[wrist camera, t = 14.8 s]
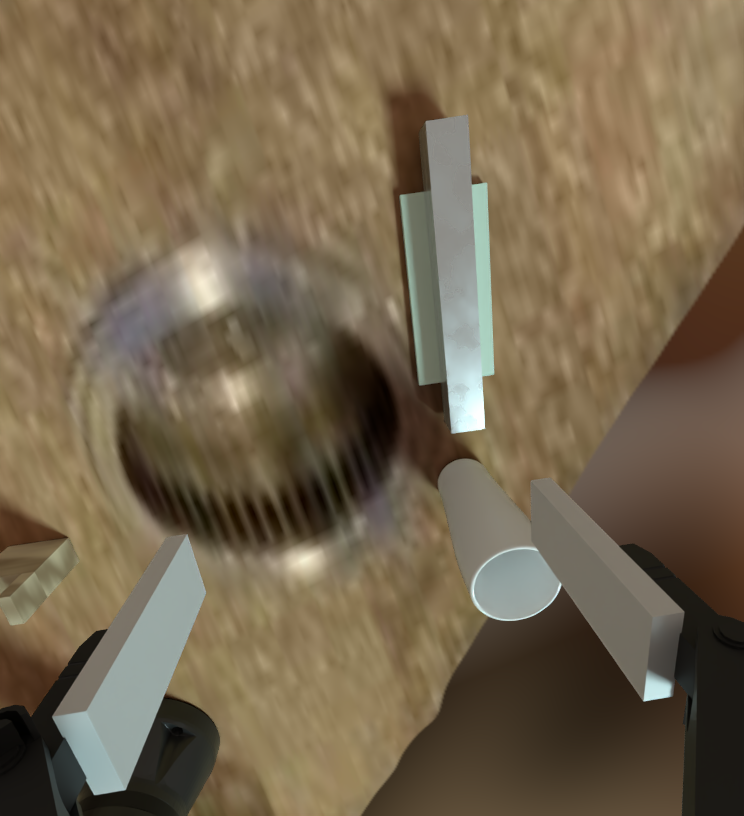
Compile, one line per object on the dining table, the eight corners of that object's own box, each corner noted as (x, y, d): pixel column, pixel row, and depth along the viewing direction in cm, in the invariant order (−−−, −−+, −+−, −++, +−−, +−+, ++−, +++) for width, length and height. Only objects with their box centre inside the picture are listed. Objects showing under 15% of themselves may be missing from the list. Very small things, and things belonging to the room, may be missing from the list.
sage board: (491, 372, 40) (494, 374, 39) (418, 383, 40) (419, 385, 39) (483, 184, 34) (486, 182, 34) (399, 196, 34) (400, 195, 34)
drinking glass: (458, 518, 45) (509, 637, 31) (415, 480, 43) (449, 587, 29) (507, 478, 44) (583, 583, 30) (465, 436, 42) (525, 527, 28)
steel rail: (475, 416, 40) (484, 428, 38) (444, 421, 40) (451, 433, 38) (457, 127, 32) (467, 114, 29) (418, 133, 32) (425, 121, 29)
